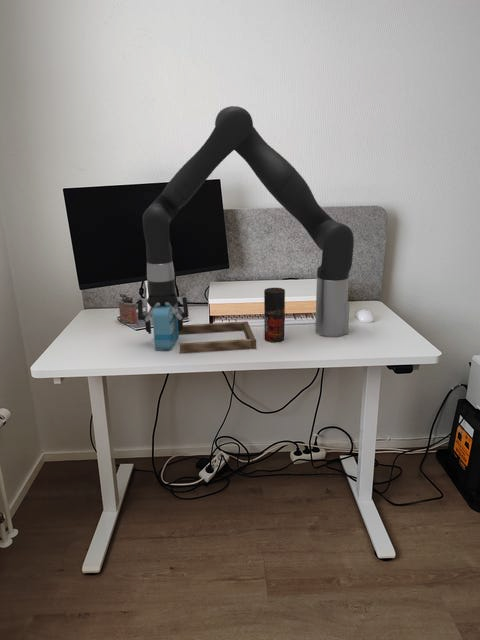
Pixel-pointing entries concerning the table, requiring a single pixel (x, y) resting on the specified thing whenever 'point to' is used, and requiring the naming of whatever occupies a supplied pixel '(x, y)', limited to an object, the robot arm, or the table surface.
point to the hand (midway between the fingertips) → (164, 331)
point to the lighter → (127, 309)
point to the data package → (165, 327)
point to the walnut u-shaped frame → (218, 345)
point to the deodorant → (274, 315)
